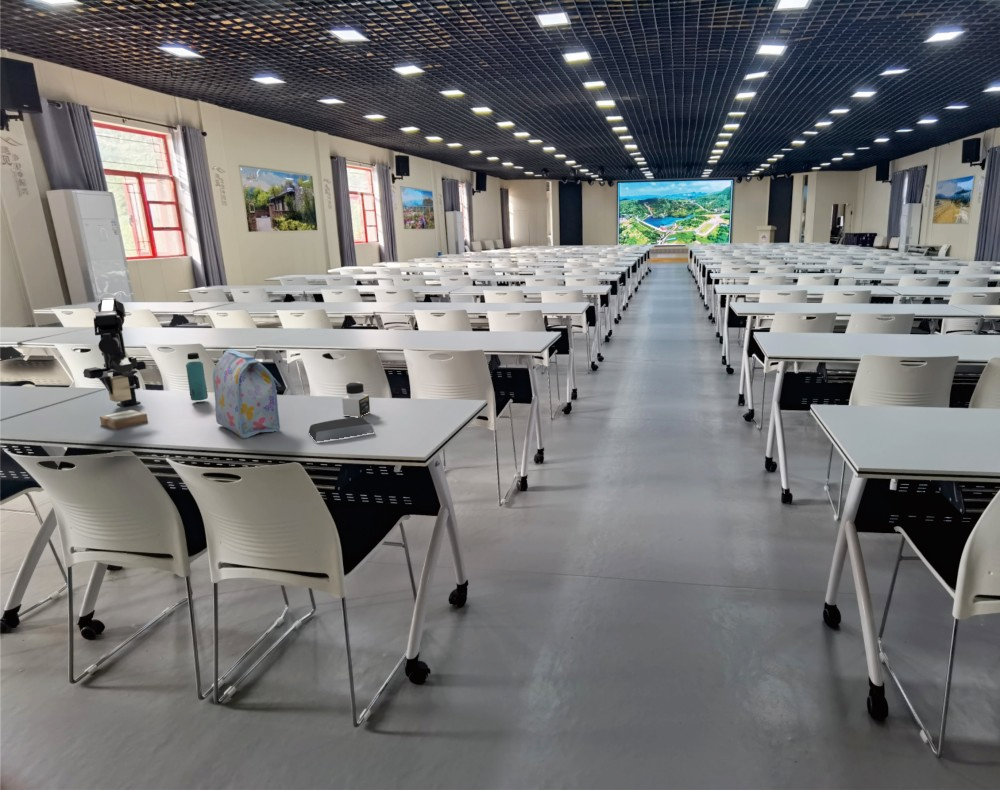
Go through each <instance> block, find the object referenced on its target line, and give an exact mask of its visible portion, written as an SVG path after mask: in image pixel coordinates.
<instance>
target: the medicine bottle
mask: <svg viewBox="0 0 1000 790" xmlns="http://www.w3.org/2000/svg"><path fill="white" fill-rule="evenodd" d="M345 386H346V388H345V390H346V396H344V397H342V398H341V402H342V412H343V413H342V414H343V415H349V416H358V417H361V416H362V415H364V414H366V413H368V412H370V413H371V407H370V406H371V405H370V395H369V394H365V391H364V384H363V383H362V382H360V381H353V382H349V383H347V384H346V385H345ZM343 415H342V416H343Z"/></svg>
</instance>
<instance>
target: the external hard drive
mask: <svg viewBox="0 0 1000 790" xmlns="http://www.w3.org/2000/svg"><path fill="white" fill-rule="evenodd" d="M373 432H374V433H375V430H374V428H373V426H372V424H371V423H370V422H369V421H368V420H366V419H365V418H364V416H363V417H358V418H353V417H345V418H339V419H332V420H327V421H323V422H318V423H314V424H311V425H310V426H309V430H308V434H309V433H310V435H311V436H312V437H313V439H314V440H315V441H316V442H317V441H324V440H330V439H339V438H344V437H350V436H357V435H362V434H367V433H373ZM310 435H309V436H310ZM311 436H310V437H311ZM313 439H312V440H313ZM314 440H313V441H314ZM315 441H314V442H315Z"/></svg>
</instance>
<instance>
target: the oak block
mask: <svg viewBox="0 0 1000 790" xmlns="http://www.w3.org/2000/svg"><path fill="white" fill-rule="evenodd" d="M110 382H111V386H112V390H113V394H112V395H111V394H110V393H109V392H108V397H109V401H112V402H115V403H120V401H125V400H129V399H131V393H130V387H129V381H128V377H125V376H116V377H111V378H110Z"/></svg>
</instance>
